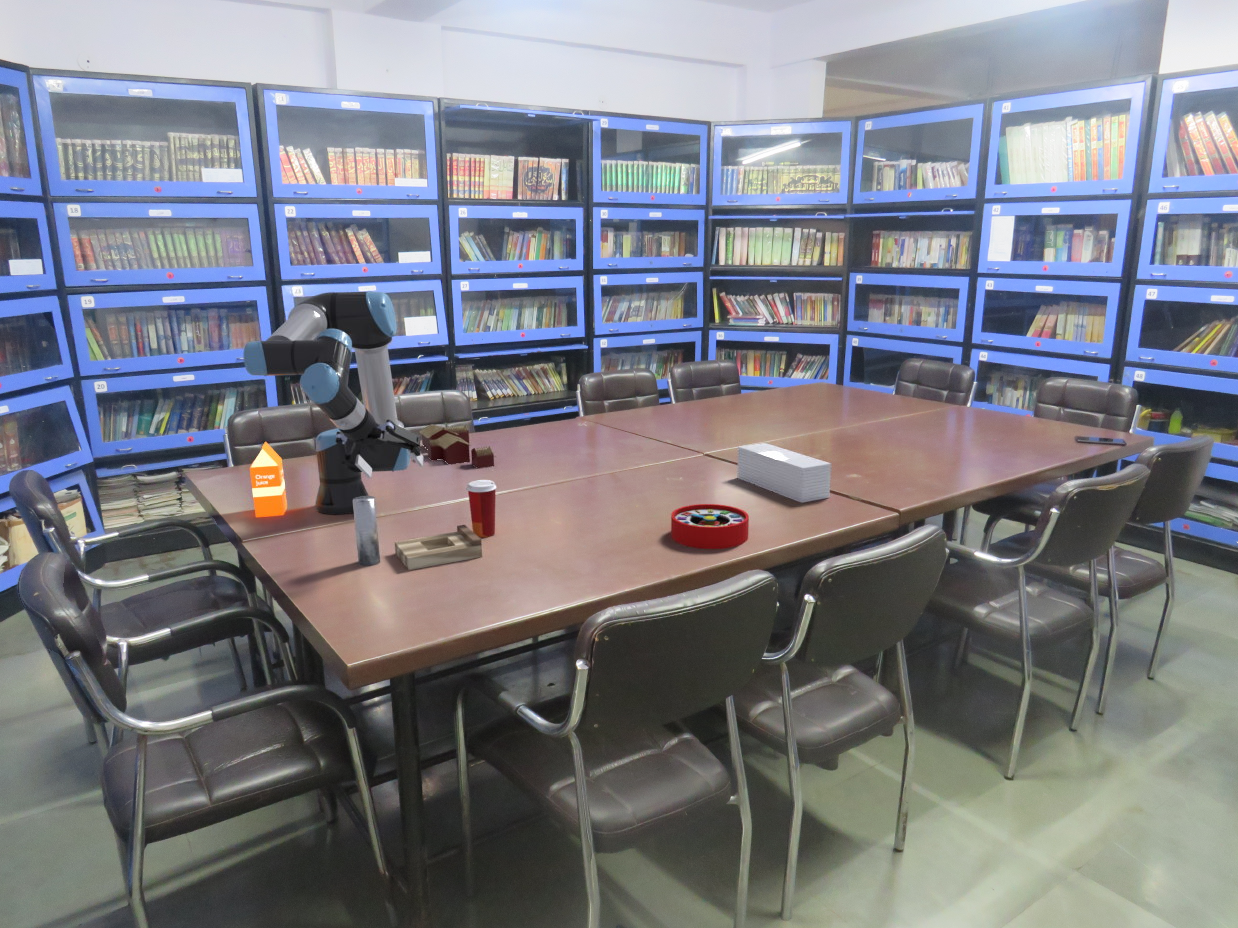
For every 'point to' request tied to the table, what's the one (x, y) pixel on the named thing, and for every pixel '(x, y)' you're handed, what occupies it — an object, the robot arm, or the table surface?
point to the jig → (439, 548)
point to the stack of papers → (784, 472)
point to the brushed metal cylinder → (366, 530)
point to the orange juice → (268, 483)
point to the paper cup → (482, 507)
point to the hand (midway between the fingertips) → (395, 467)
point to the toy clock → (709, 526)
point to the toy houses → (454, 446)
